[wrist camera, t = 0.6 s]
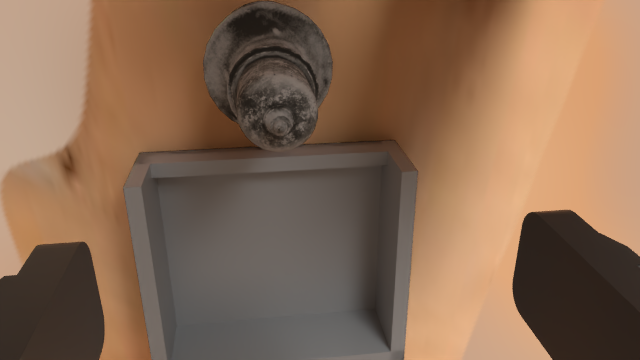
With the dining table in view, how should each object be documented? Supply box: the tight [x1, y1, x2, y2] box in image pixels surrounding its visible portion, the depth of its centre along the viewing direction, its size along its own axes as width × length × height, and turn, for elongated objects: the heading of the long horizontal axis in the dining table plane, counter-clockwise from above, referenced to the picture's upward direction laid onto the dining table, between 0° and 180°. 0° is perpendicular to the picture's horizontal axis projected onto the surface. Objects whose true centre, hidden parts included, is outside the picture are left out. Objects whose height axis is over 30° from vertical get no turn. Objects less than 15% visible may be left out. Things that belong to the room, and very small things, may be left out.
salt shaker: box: [203, 1, 333, 152], centre depth 23 cm, size 6×6×12 cm
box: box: [123, 140, 418, 360], centre depth 31 cm, size 12×14×4 cm
